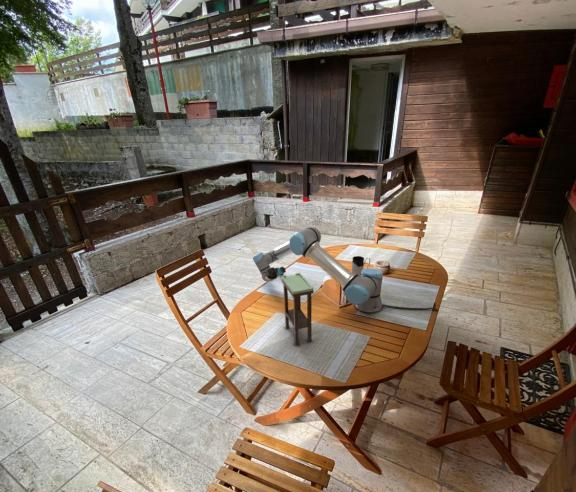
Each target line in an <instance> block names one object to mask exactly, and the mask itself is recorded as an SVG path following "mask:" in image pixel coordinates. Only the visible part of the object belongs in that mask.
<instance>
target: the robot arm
mask: <svg viewBox="0 0 576 492" xmlns="http://www.w3.org/2000/svg"><path fill="white" fill-rule="evenodd" d="M321 240H322V234H321V232H320V230H319V229H318V228H316V227H315V226H309V227H306V228H304V229H302V230H300V231H297V232H295V233H294V234H292V235H291V236H290V238H289V241H287V242H284V243H283V244H281V245H279V246H278V247H275V248H274V249H272V250H270V251H268V252H266V253H263V252H258V253H256V254H255V255H254V256H252V261H253V262H254V264H255V266H256V268H257V269H258V271H259V273H260V275H261V279H262V280H263V281H264V282H267V283H269V282H274V280H276V279H278V278H279V276H278V275H277V274H276V273H278V270H277V268H278V267H271V266H270V265H271V264H273V263H274V262H277V261H279V260H280V259H282V258H285V257H287V256H289V255H291V254H294V255H296V256H302V257H304V258H305V259H310V260H311V261H312V262H313V263H314V264H316V265H317V266H318V267H319V268H320V269H321V270H322V271H324V272H325V273H326V274H327V275H328V276H329V277H331V278H332V279H333V280H334V281H335V282H336V283H338V284H339V285H340V286H341V290H342V291H343V292H344V296H345V299H346V301H348V303H350V304H352V305H354V307H355V308H356V309H357V310H358V311H360V312H363V313H366V314H374V313H378V312H380V311H381V310H382V308H383V307H386V308H393V309H399V310H409V311H410V310H415V311H429V310H434V311H436V312H438V311H439V310H438V309H437V308H436V307H404V306H394V305H389V304H383V302H382V301H383V300H382V298H381V292H382V283H383V279H384V277H383V275H384V273H383V271H381V270H379V269H377V268H373V267H372V268H370V267H368V268H367V267H366V268H363V270H362V272H361V277H360V276H359V275H358V274H352V273H351V271H350V270H349V269H348V268H346V267H345V266H344V265H343V264H342V263H341V262H339V261H338V259H336V258H335V257H333V256H332V255H331V254H330V253H329V252H327V251H326V250H325V249H324V248H323V247H322V246H321V244H320V242H321ZM274 268H275V269H274ZM279 268H280V270H281V271H282V272H283V275H285V274H286V273H287V270H286V267H284V266H280V267H279Z"/></svg>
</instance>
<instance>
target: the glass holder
mask: <svg viewBox="0 0 576 492" xmlns="http://www.w3.org/2000/svg"><path fill="white" fill-rule="evenodd" d="M368 259H369V262H368V264H367V266H366V268H370V267H369V266H370V264H371V258H370V257H366V258H364V256H361V255H355V256H352V259H351V260H352V261H351V271H350V272H351V273H352V274H358V275H359V276H360V277H361V272H362V270H363V269H365V267H364V265H366V261H367V260H368Z"/></svg>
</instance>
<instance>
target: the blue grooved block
mask: <svg viewBox="0 0 576 492" xmlns="http://www.w3.org/2000/svg"><path fill="white" fill-rule="evenodd" d="M273 268H274V269H275V268H277V270H278V273H276V274H277V275H278V278H279V279H280V280H281V276H284V275H285V274H283V272H282V271H281V270H280V267H273Z"/></svg>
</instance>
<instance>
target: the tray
mask: <svg viewBox="0 0 576 492" xmlns="http://www.w3.org/2000/svg"><path fill="white" fill-rule="evenodd" d="M283 275H284V276H281V278H282V280H283V281H284V282H285V284H286V285H287V287H288V288H289V289H290V291H291V292H292V294H297V293H303V292H308V291H313V290H314V287H313V286H312V285H311V283H309V281H308V280H307V279H306V278H305V276H304V275H303V274H302V273H301V272H296V273H295V274H291V275H286V274H283Z"/></svg>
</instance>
